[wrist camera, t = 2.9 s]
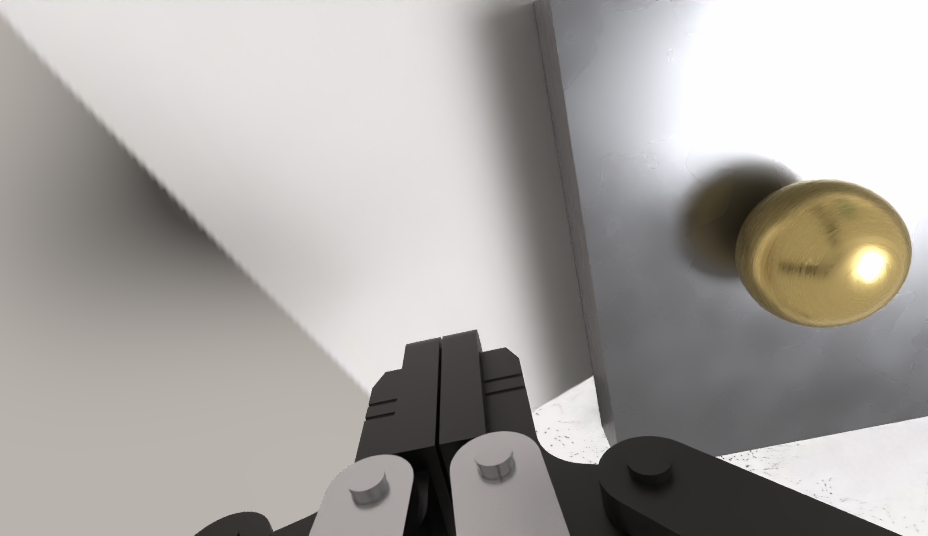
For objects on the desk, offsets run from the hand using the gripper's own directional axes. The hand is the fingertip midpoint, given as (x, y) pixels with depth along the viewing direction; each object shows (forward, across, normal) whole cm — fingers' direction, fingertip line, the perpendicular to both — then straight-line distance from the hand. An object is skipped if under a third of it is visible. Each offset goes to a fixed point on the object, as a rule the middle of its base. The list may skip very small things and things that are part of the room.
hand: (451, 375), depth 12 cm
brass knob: (+2, -9, 0) cm, 9 cm away
